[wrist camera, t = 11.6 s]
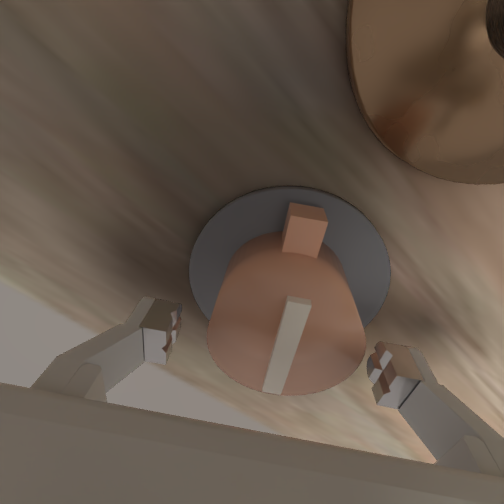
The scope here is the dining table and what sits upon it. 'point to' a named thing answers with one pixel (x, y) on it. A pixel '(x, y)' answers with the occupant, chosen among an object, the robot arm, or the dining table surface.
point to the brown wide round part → (432, 82)
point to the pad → (273, 220)
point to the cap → (287, 312)
